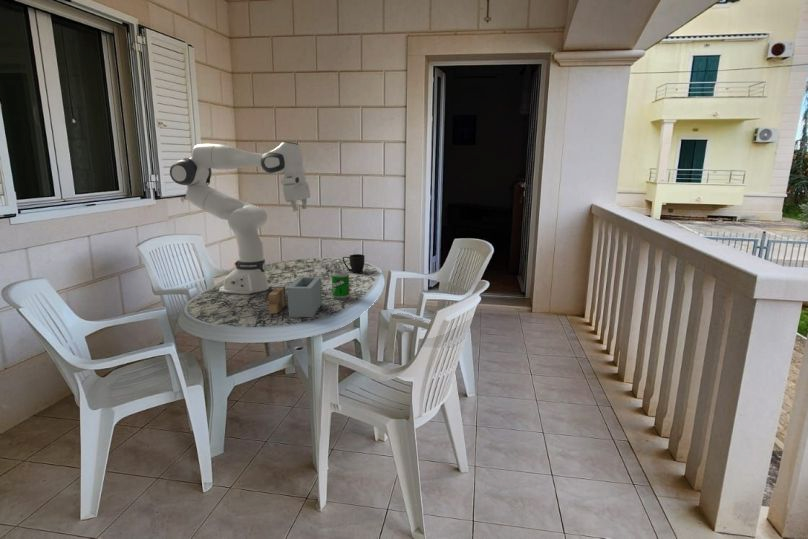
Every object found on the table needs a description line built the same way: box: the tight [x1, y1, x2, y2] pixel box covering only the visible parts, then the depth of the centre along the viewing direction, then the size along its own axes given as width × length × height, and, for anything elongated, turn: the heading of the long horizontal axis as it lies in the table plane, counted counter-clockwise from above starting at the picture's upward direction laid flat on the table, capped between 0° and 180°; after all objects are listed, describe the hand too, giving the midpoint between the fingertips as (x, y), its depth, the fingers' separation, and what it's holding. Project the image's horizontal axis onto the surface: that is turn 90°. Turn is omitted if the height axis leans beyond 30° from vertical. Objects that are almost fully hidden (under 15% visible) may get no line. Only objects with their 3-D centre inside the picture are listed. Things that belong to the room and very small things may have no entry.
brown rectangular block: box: [268, 286, 287, 314], centre depth 184 cm, size 12×3×8 cm, turn 178°
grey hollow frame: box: [287, 276, 323, 318], centre depth 183 cm, size 9×18×12 cm, turn 178°
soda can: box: [331, 269, 350, 300], centre depth 201 cm, size 8×8×12 cm
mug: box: [342, 253, 366, 274], centre depth 248 cm, size 8×12×10 cm
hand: (300, 210), depth 204 cm, fingers open, 8 cm apart
